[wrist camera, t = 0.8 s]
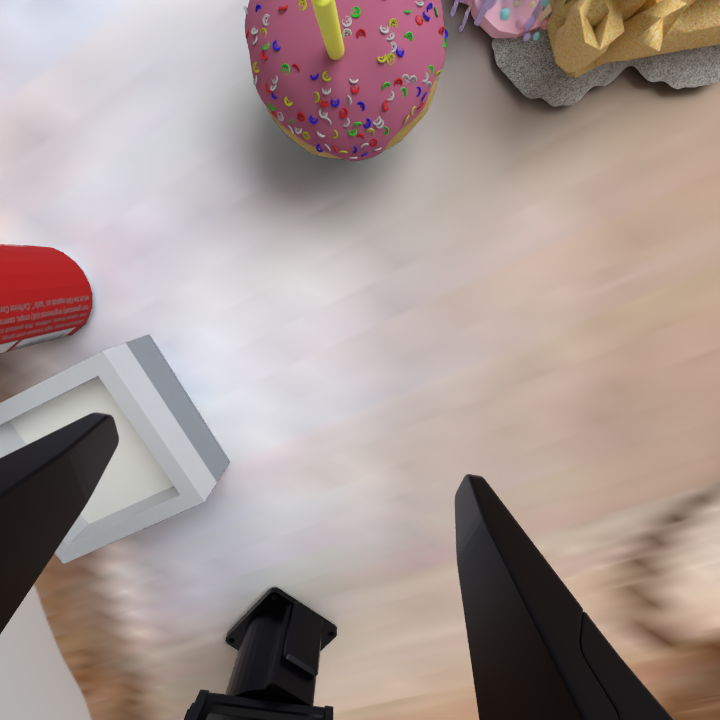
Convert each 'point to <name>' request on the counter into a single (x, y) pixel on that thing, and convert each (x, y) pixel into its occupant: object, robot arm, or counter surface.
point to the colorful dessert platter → (599, 42)
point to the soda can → (40, 296)
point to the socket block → (123, 440)
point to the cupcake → (346, 69)
